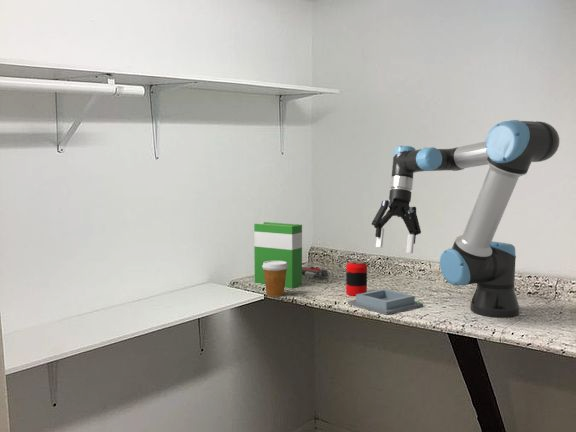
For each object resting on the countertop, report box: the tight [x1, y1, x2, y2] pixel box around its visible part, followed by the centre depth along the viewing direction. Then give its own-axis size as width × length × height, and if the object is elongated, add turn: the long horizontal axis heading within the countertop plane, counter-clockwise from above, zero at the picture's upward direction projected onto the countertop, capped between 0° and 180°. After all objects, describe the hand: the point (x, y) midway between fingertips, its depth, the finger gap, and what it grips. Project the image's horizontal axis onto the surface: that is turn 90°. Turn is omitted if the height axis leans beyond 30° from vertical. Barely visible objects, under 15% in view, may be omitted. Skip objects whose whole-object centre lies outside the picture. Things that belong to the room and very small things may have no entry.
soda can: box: [345, 260, 368, 297], centre depth 224 cm, size 8×8×12 cm
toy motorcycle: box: [302, 265, 329, 280], centre depth 258 cm, size 9×4×20 cm
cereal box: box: [253, 221, 303, 289], centre depth 241 cm, size 18×7×24 cm, turn 58°
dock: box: [347, 288, 424, 316], centre depth 208 cm, size 18×18×4 cm
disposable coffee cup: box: [262, 261, 288, 298], centre depth 224 cm, size 10×10×12 cm
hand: (394, 250), depth 211 cm, fingers open, 13 cm apart
